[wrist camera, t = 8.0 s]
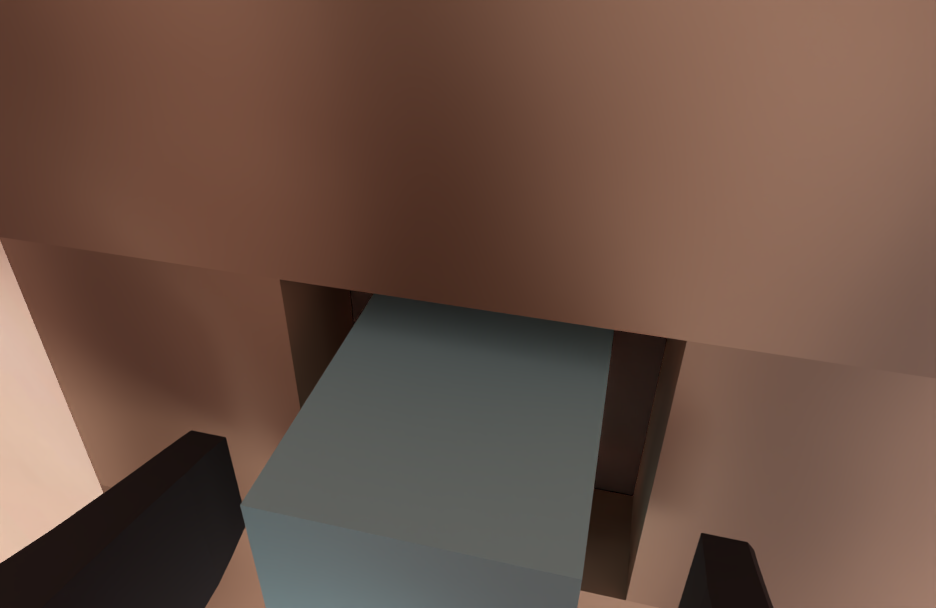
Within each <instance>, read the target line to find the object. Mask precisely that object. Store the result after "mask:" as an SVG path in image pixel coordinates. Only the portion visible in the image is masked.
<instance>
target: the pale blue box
mask: <svg viewBox="0 0 936 608" xmlns="http://www.w3.org/2000/svg"><path fill="white" fill-rule="evenodd" d="M613 335H614V330H612V329H605V328H598V327H592V326H585V325H579V324H572V323H565V322H559V321H552V320H545V319H539V318H532V317H526V316H519V315H512V314H506V313H499V312H492V311H486V310H479V309H473V308H466V307H459V306H453V305H446V304H440V303H433V302H426V301H420V300H413V299H406V298H400V297H393V296H387V295H380V294H373V296H372V297H371V299H370V300H369V302H368V304H367V305H366V307H365V308H364V310H363V311H362V313H361V315H360V316H359V318H358V319H357V321H356V323H355V324H354V326H353V327H352V329H351V330H350V332H349V334H348V335H347V337H346V338H345V340H344V342H343V343H342V345H341V346H340V348H339V349H338V351H337V353H336V354H335V356H334V357H333V359H332V361H331V362H330V364H329V365H328V367H327V368H326V370H325V372H324V373H323V375H322V376H321V378H320V379H319V381H318V383H317V384H316V386H315V387H314V389H313V391H312V392H311V394H310V395H309V397H308V398H307V400H306V402H305V403H304V405H303V406H302V408H301V410H300V411H299V413H298V414H297V416H296V417H295V419H294V421H293V422H292V424H291V425H290V427H289V429H288V430H287V432H286V433H285V435H284V436H283V438H282V440H281V441H280V443H279V444H278V446H277V448H276V449H275V451H274V452H273V454H272V455H271V457H270V459H269V460H268V462H267V463H266V465H265V467H264V468H263V470H262V471H261V473H260V474H259V476H258V478H257V479H256V481H255V482H254V484H253V485H252V487H251V489H250V490H249V492H248V493H247V495H246V497H245V498H244V500H243V501H242V503H241V504H240V507H241V511H242V515H243V519H244V523H245V527H246V531H247V535H248V539H249V543H250V547H251V551H252V555H253V559H254V563H255V567H256V571H257V575H258V579H259V583H260V587H261V591H262V595H263V599H264V603H265V607H266V608H577V606H578V600H579V595H580V589H581V583H582V577H583V569H584V561H585V553H586V546H587V538H588V530H589V522H590V514H591V507H592V499H593V491H594V483H595V475H596V467H597V460H598V452H599V444H600V436H601V428H602V421H603V413H604V405H605V397H606V389H607V382H608V374H609V366H610V358H611V350H612V342H613Z"/></svg>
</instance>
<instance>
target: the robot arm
mask: <svg viewBox="0 0 936 608" xmlns="http://www.w3.org/2000/svg"><path fill="white" fill-rule="evenodd" d="M241 503H242V500H241V496H240V492H239V488H238V484H237V480H236V476H235V472H234V468H233V464H232V460H231V456H230V452H229V448H228V444H227V439H226V437H223V436H218V435H213V434H208V433H203V432H198V431H193V430H191V431H189V432H188V433H186V434H185V435H183V436H182V437H181V438H179V439H178V440H176V441H175V442H174V443H172V444H171V445H169V446H168V447H167V448H165V449H164V450H162V451H161V452H160V453H158V454H157V455H156V456H154V457H153V458H151V459H150V460H149V461H147V462H146V463H145V464H143V465H142V466H140V467H139V468H138V469H136V470H135V471H134V472H132V473H131V474H129V475H128V476H127V477H125V478H124V479H123V480H121V481H120V482H118V483H117V484H116V485H114V486H113V487H112V488H110V489H109V490H107V491H106V492H105V493H103V494H102V495H100V496H99V497H98V498H96V499H95V500H93V501H92V502H91V503H89V504H88V505H86V506H85V507H83V508H82V509H81V510H79V511H78V512H76V513H75V514H74V515H72V516H71V517H69V518H68V519H66V520H65V521H64V522H62V523H61V524H59V525H58V526H56V527H55V528H54V529H52V530H51V531H49V532H48V533H46V534H45V535H43V536H42V537H40V538H38V539H37V540H35V541H34V542H32V543H31V544H29V545H28V546H26V547H25V548H23V549H22V550H20V551H19V552H17V553H16V554H14V555H13V556H11V557H10V558H8V559H6V560H5V561H3V562H2V563H0V608H205V607H206V605H207V604H208V602H209V600H210V599H211V597H212V595H213V593H214V592H215V590H216V588H217V587H218V585H219V583H220V581H221V579H222V577H223V575H224V573H225V571H226V568H227V566H228V564H229V562H230V560H231V558H232V556H233V554H234V551H235V549H236V547H237V544H238V542H239V540H240V538H241V535H242V533H243V531H244V529H245V523H244V519H243V515H242V511H241V507H240V504H241ZM678 608H774V607H773V605H772V602H771V599H770V597H769V594H768V591H767V588H766V585H765V582H764V579H763V576H762V573H761V570H760V567H759V564H758V561H757V558H756V555H755V551H754V549H753V548H752V546H751V545H750V544H749V543H748V542H745V541H740V540H735V539H730V538H725V537H720V536H715V535H710V534H705V533H701V535H700V538H699V542H698V545H697V548H696V551H695V555H694V558H693V561H692V564H691V567H690V571H689V574H688V577H687V580H686V584H685V587H684V590H683V593H682V597H681V600H680V603H679V606H678Z"/></svg>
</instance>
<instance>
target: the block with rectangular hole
mask: <svg viewBox="0 0 936 608" xmlns="http://www.w3.org/2000/svg"><path fill="white" fill-rule="evenodd" d="M0 240H1V243H2V245H3V248H4V250H5V253H6V255H7V258H8V260H9V262H10V265H11V267H12V270H13V272H14V275H15V277H16V280H17V282H18V285H19V287H20V289H21V292H22V294H23V297H24V299H25V302H26V304H27V307H28V309H29V311H30V314H31V316H32V319H33V321H34V324H35V326H36V329H37V331H38V333H39V336H40V338H41V341H42V343H43V346H44V348H45V351H46V353H47V356H48V358H49V360H50V363H51V365H52V368H53V370H54V373H55V375H56V378H57V380H58V382H59V385H60V387H61V390H62V392H63V395H64V397H65V400H66V402H67V404H68V407H69V409H70V412H71V414H72V417H73V419H74V422H75V424H76V426H77V429H78V431H79V434H80V436H81V439H82V441H83V444H84V446H85V449H86V451H87V453H88V456H89V458H90V461H91V463H92V466H93V468H94V471H95V473H96V475H97V478H98V480H99V483H100V485H101V488H102V490H103V493H105V492H106V491H107V490H109V489H110V488H112V487H113V486H114V485H116V484H117V483H118V482H120V481H121V480H123V479H124V478H125V477H127V476H128V475H129V474H131V473H132V472H134V471H135V470H136V469H138V468H139V467H140V466H142V465H143V464H145V463H146V462H147V461H149V460H150V459H151V458H153V457H154V456H156V455H157V454H158V453H160V452H161V451H162V450H164V449H165V448H167V447H168V446H169V445H171V444H172V443H174V442H175V441H176V440H178V439H179V438H181V437H182V436H183V435H185V434H186V433H188V432H189V431H191V430H193V431H198V432H203V433H208V434H213V435H218V436H223V437H226V439H227V444H228V448H229V452H230V456H231V460H232V464H233V468H234V472H235V476H236V480H237V484H238V488H239V492H240V496H241V500H242V501H243V500H244V498H245V497H246V495H247V493H248V492H249V490H250V489H251V487H252V485H253V484H254V482H255V481H256V479H257V478H258V476H259V474H260V473H261V471H262V470H263V468H264V467H265V465H266V463H267V462H268V460H269V459H270V457H271V455H272V454H273V452H274V451H275V449H276V448H277V446H278V444H279V443H280V441H281V440H282V438H283V436H284V435H285V433H286V432H287V430H288V429H289V427H290V425H291V424H292V422H293V421H294V419H295V417H296V416H297V414H298V413H299V411H300V410H301V408H302V406H303V405H304V403H305V402H306V400H307V398H308V397H309V395H310V394H311V392H312V391H313V389H314V387H315V386H316V384H317V383H318V381H319V379H320V378H321V376H322V375H323V373H324V372H325V370H326V368H327V367H328V365H329V364H330V362H331V361H332V359H333V357H334V356H335V354H336V353H337V351H338V349H339V348H340V346H341V345H342V343H343V342H344V340H345V338H346V337H347V335H348V334H349V332H350V330H351V329H352V327H353V318H352V307H351V297H350V290H353V291H360V292H367V293H373V294H380V295H387V296H393V297H400V298H406V299H413V300H420V301H426V302H433V303H440V304H446V305H453V306H459V307H466V308H473V309H479V310H486V311H492V312H499V313H506V314H512V315H519V316H526V317H532V318H539V319H545V320H552V321H559V322H565V323H572V324H579V325H585V326H592V327H598V328H605V329H612V330H618V331H625V332H631V333H638V334H645V335H651V336H658V337H665V338H667V341H666V346H665V351H664V355H663V360H662V365H661V369H660V374H659V378H658V383H657V388H656V392H655V397H654V402H653V406H652V411H651V416H650V420H649V425H648V430H647V434H646V439H645V444H644V448H643V453H642V458H641V462H640V467H639V472H638V476H637V481H636V485H635V490H634V495H633V496H630V495H624V494H619V493H614V492H609V491H604V490H598V489H594V491H593V499H592V507H591V514H590V522H589V530H588V538H587V546H586V553H585V561H584V569H583V577H582V583H581V589H580V595H579V600H578V606H577V608H678V606H679V603H680V600H681V597H682V593H683V590H684V587H685V584H686V580H687V577H688V574H689V571H690V567H691V564H692V561H693V558H694V555H695V551H696V548H697V545H698V542H699V538H700V535H701V533H705V534H710V535H715V536H720V537H725V538H730V539H735V540H740V541H745V542H748V543H749V544H750V545H751V546H752V548H753V549H754V551H755V555H756V558H757V561H758V564H759V567H760V570H761V573H762V576H763V579H764V582H765V585H766V588H767V591H768V594H769V597H770V599H771V602H772V605H773V607H774V608H936V0H0ZM205 608H266V607H265V603H264V599H263V595H262V591H261V587H260V583H259V579H258V575H257V571H256V567H255V563H254V559H253V555H252V551H251V547H250V543H249V539H248V535H247V531H246V527H245V529H244V531H243V533H242V535H241V538H240V540H239V542H238V544H237V547H236V549H235V551H234V554H233V556H232V558H231V560H230V562H229V564H228V566H227V568H226V571H225V573H224V575H223V577H222V579H221V581H220V583H219V585H218V587H217V588H216V590H215V592H214V593H213V595H212V597H211V599H210V600H209V602H208V604H207V605H206V607H205Z"/></svg>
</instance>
